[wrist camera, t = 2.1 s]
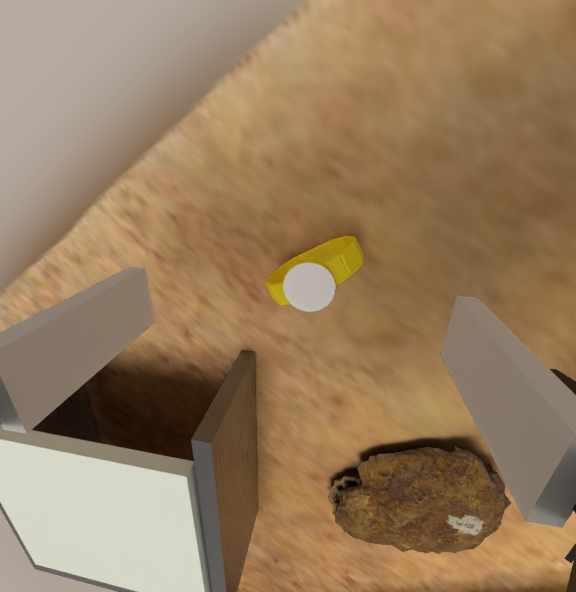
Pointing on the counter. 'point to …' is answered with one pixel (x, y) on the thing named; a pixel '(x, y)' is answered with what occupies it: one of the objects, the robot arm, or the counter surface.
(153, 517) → the trapdoor
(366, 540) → the decorative rock
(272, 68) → the counter surface
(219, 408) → the stand
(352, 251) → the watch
